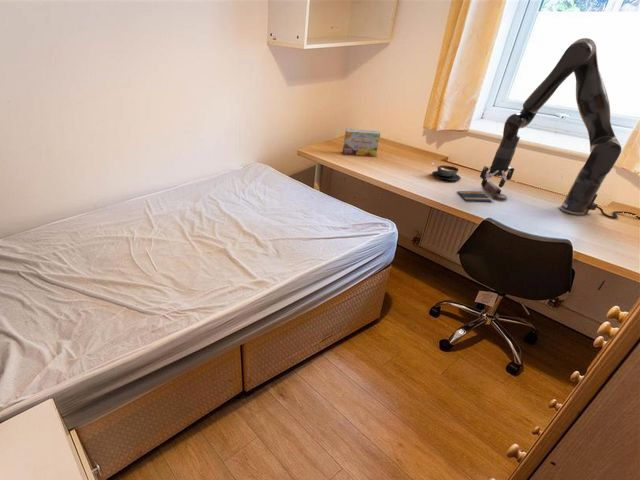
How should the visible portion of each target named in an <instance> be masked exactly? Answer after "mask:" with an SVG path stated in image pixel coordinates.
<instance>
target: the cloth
mask: <svg viewBox="0 0 640 480" xmlns="http://www.w3.org/2000/svg"><path fill="white" fill-rule="evenodd" d="M456 193H457V194H458V195H459V196H460V197H461V198H462V199H463V200H464V201H465V202H466V203H467V202H469V203H470V202H471V203H492V202H493V201H492V199H491V198H490V197H489V196H487V195H486V194H485V193H484V192H483V191H467V190H466V191H463V190H458V191H457V192H456Z"/></svg>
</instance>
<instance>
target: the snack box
mask: <svg viewBox="0 0 640 480" xmlns="http://www.w3.org/2000/svg"><path fill="white" fill-rule="evenodd" d="M380 137H381V131H379V130H365V129H352V128H346V129H345V132H344V139H343V147H342V155H351V156H361V157H362V156H363V157H372V158H373V157H375V158H376V157H377V153H378V148H379V144H380V143H379V142H380Z"/></svg>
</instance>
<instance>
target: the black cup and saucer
mask: <svg viewBox="0 0 640 480" xmlns="http://www.w3.org/2000/svg"><path fill="white" fill-rule="evenodd" d="M431 164H433V165H435V166H436V167H437V170H434V171H432V172H431V175H432V176H433V177H435V179H440V180H445V181H458V180H461V179H462V177H461V176H460V175H458V172H459V168H458V167H455V166H453V165H437V164H435V163H434V162H431Z"/></svg>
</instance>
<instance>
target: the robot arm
mask: <svg viewBox="0 0 640 480" xmlns="http://www.w3.org/2000/svg"><path fill="white" fill-rule="evenodd" d="M597 51H598V50H597V45H596V43H595V41H594V40H593V39H591V38H589V37H582V38H579V39H577V40H575V41H574V42H573V43H571V44H570V45H569V46H567V48H565V50H564V52H563V53H562V55H561V57H560V58H559V60H558V61H557V63H556V65H555V66H554V68H553V69H552V70H551V72H550V73H549V74H548V75H547V76H546V77H545V78H544V79H543V81H542V82H541V83H540V84H539V85H538V86H537V87H536V88H535V89H534V90H533V92H531V94H530V95H529V96H528V97H527V98H526V99H525V101H524V102H523V103H522V110H520V112H517V113H513V114H510V115H509V116H508V117H507V119H506V120H505V122H504V125H503V132H502V133H503V134H502V137H501V141H500V143H499V146H498V148H497V149H496V152H495V154H494V157H493V159H492V162H491V165H490V166H487V165H484V166H483V168H482V170H481V172H480V175H479V178H480V179H482V181H481V183H480V185H481V187H482V188H485V185H486V183H487V181H488V180H489V179H490V178H492V177H501V179H500V181H499V183H498V188H503V187H504V186H505V184H506V181H509V180H511V179H512V177H513V175H514V172H515V167H513V166H511V162H512V161H513V158H514V155H515V153H516V149H517V148H518V147H517V146H518V144H519V143H520V142H519V141H520V138H521V136H520V135H519V134H518V133H519V130H520V129H524V128H526V127H527V126H528V125H529V124H530V123H531V122H532V121H533V120H534V119H535V117H536V115H537V114H538V112H539V110H541V108H542V107H543V106H544V105H545V104H546V103H547V102H548V101H549V100H550V99H551V97H553V95H554V93H556V91H557V90H558V89H559V88H560V86H561V85H562V84H563V83H564V81H565V80H566V79H567V78H569V76H571V75H572V74H574V77H575V102H576V105H577V109H578V113H579V116H580V118H581V121H582V122H583V124H584V126H585V128H586V130H587V134H588V141H589V152H590V153H589V155H588V158H587V159H586V161H585V163H584V165H583V166H582V167H581V168H580V170H579V172H578V174H577V175H576V177H575V179H574V181H573V183H572V185H571V187H570V189H569V191H568V193H567V194H566V196H565V198H564V201H562V203H561V205H560V207H559V209H560V210H561V211H563V212H564V213H567V214H570V215H574V216H583V215H588V214H589V211H595V210H597V209H598V210H600V213H601V214H602V215H603V216H605V217H608V218H610V219H617V218H618V215H617V214H627V213H628V214H627V215H631V214H632V216H634V215H637V214H636V213H634V212H630V211H621V210H620V211H619V210H615V211H613V212H612V215H609V214H607V213H605V212H604V210H603V208H602V207H600V206H598V204H597V203H595V201H596V199H597V197H598V194H597V193H598V191H599V190H600V188H601V186H602V184H603V182H604V180H605V179H606V177H607V175H609V173H610V172H611V171H612V169H613V167H614V166H615V164H616V162H617V161H618V159H619V157H620V155H621V153H622V145H621V144H620V141H619V140H618V138H617V136H616V134H615V132H614V129H613V127H612V122H611V105H610V100H609V96H608V92H607V89H606V86H605V83H604V80H603V77H602V74H601V71H600V68H599V61H598V52H597ZM506 172H507V173H506ZM623 212H624V213H623ZM638 216H639V215H638ZM638 216H635V218H637V219H638V220H640V216H639V217H638ZM605 282H606V280H603V281H602V283H601V284H599V286H598V288H597V291H600V290H601V288H603V285H604V284H605Z"/></svg>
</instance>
